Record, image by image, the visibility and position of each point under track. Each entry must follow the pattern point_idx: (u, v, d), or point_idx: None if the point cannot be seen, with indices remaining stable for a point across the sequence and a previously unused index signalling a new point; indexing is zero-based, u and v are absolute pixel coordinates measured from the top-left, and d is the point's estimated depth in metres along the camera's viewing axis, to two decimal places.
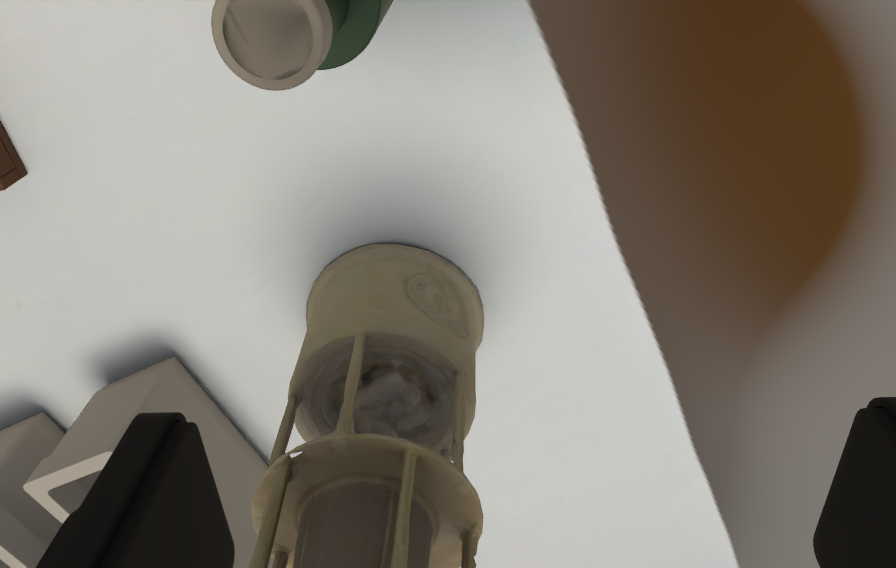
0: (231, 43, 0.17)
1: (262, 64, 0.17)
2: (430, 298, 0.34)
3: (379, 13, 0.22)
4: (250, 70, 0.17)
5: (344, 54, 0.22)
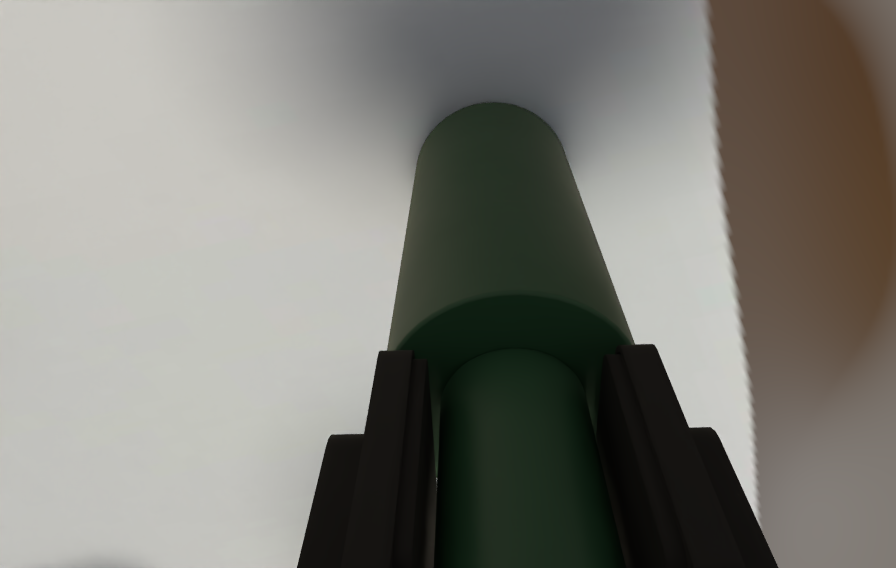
0: None
1: None
2: None
3: None
4: None
5: None
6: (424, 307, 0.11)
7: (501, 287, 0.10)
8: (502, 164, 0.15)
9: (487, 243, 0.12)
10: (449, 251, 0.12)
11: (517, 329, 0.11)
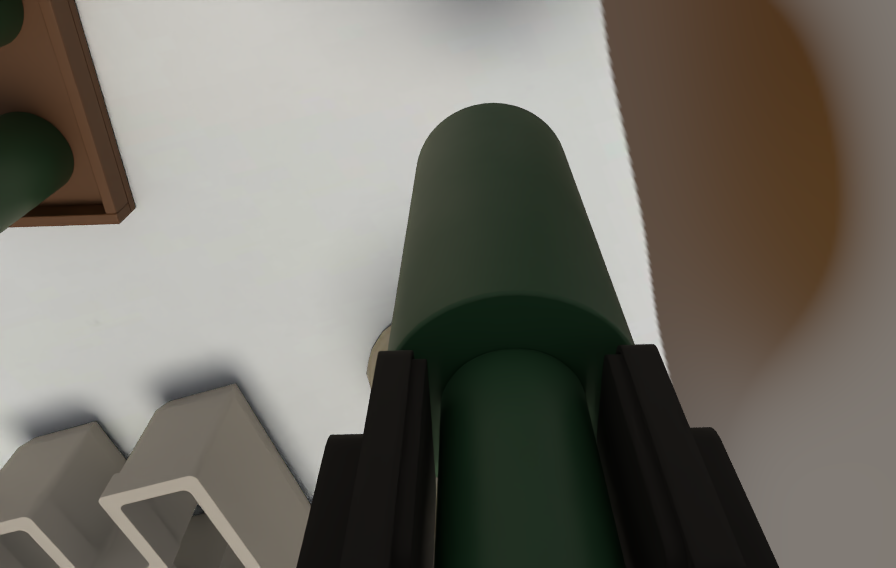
0: None
1: None
2: None
3: None
4: None
5: None
6: (424, 308, 0.11)
7: (501, 287, 0.10)
8: (502, 164, 0.15)
9: (487, 244, 0.12)
10: (449, 251, 0.12)
11: (517, 329, 0.11)
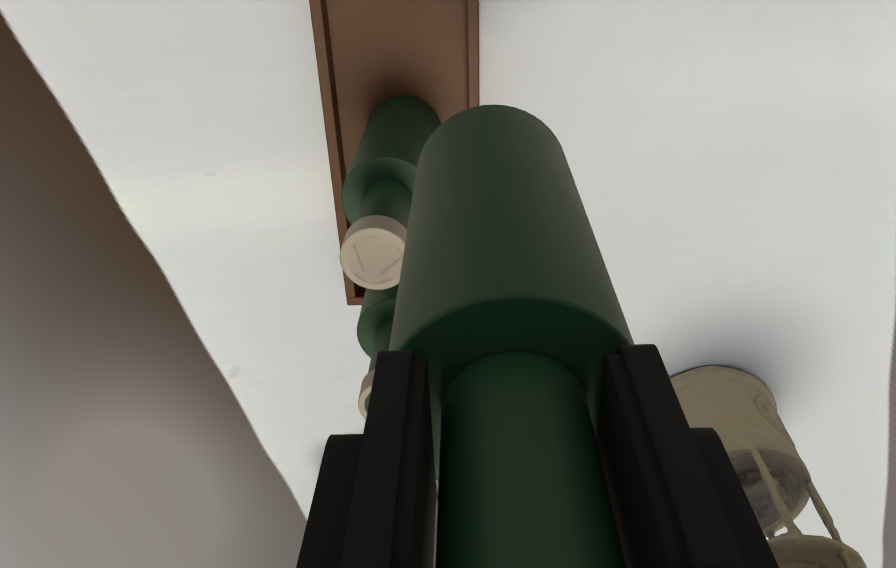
0: None
1: None
2: (776, 419, 0.46)
3: None
4: None
5: None
6: (424, 310, 0.11)
7: (503, 290, 0.10)
8: (502, 167, 0.15)
9: (488, 246, 0.12)
10: (450, 254, 0.12)
11: (518, 332, 0.11)
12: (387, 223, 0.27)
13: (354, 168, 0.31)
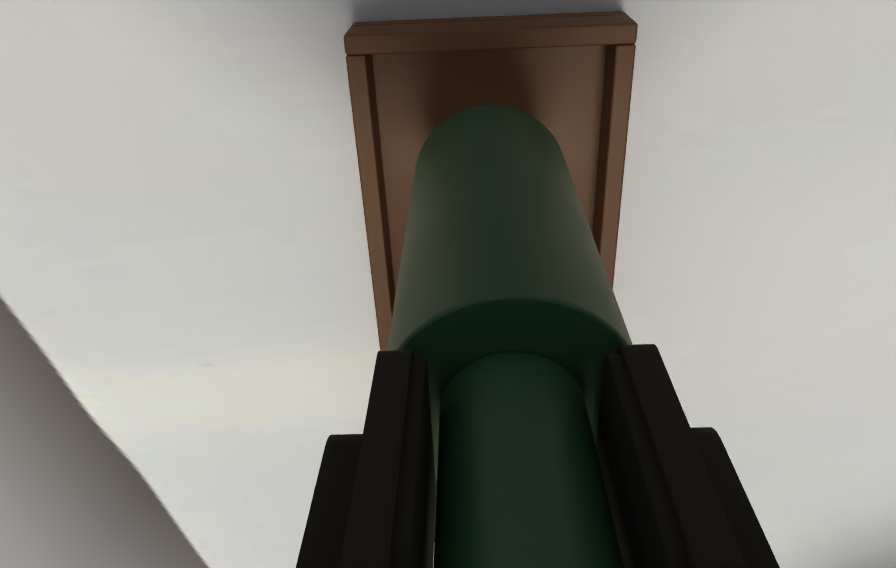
0: None
1: None
2: None
3: None
4: None
5: None
6: (423, 311, 0.11)
7: (501, 291, 0.10)
8: (501, 167, 0.15)
9: (486, 246, 0.12)
10: (448, 255, 0.12)
11: (516, 332, 0.11)
12: None
13: None
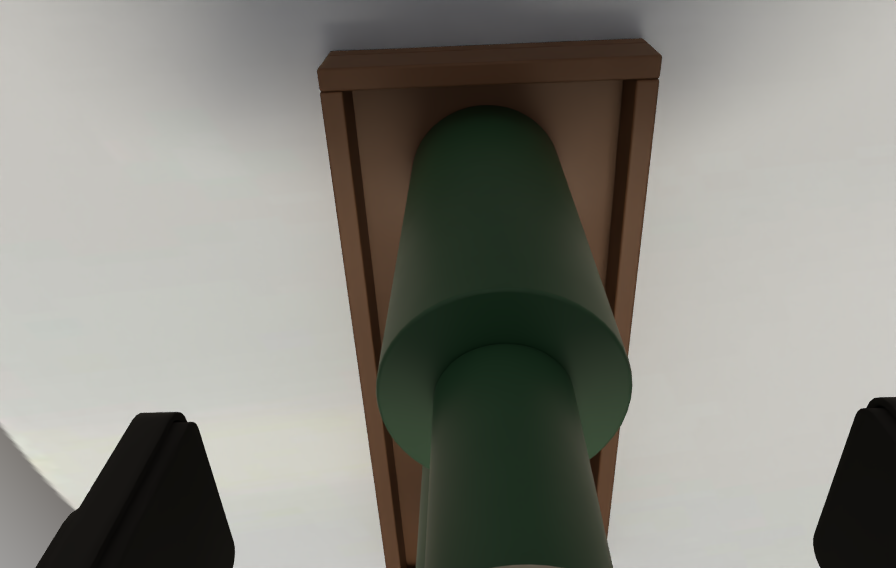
0: None
1: None
2: None
3: (617, 426, 0.12)
4: None
5: None
6: (417, 304, 0.11)
7: (492, 284, 0.11)
8: (494, 165, 0.15)
9: (479, 242, 0.12)
10: (442, 250, 0.12)
11: (507, 325, 0.11)
12: None
13: None
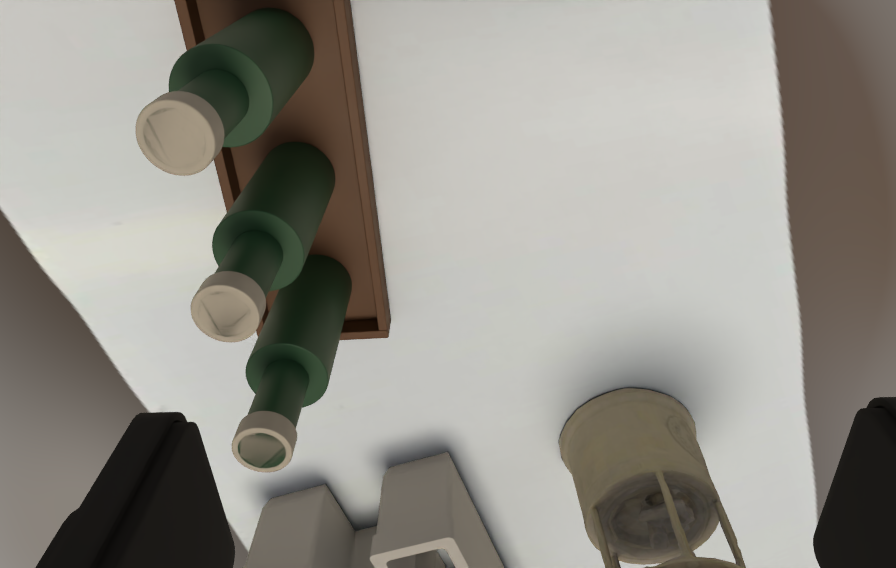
0: (149, 142, 0.24)
1: (170, 157, 0.24)
2: (687, 439, 0.47)
3: (272, 112, 0.29)
4: (161, 160, 0.25)
5: (244, 138, 0.30)
6: (181, 56, 0.28)
7: (205, 43, 0.28)
8: (244, 22, 0.32)
9: (212, 37, 0.29)
10: None
11: (213, 61, 0.28)
12: (234, 279, 0.28)
13: (221, 222, 0.32)
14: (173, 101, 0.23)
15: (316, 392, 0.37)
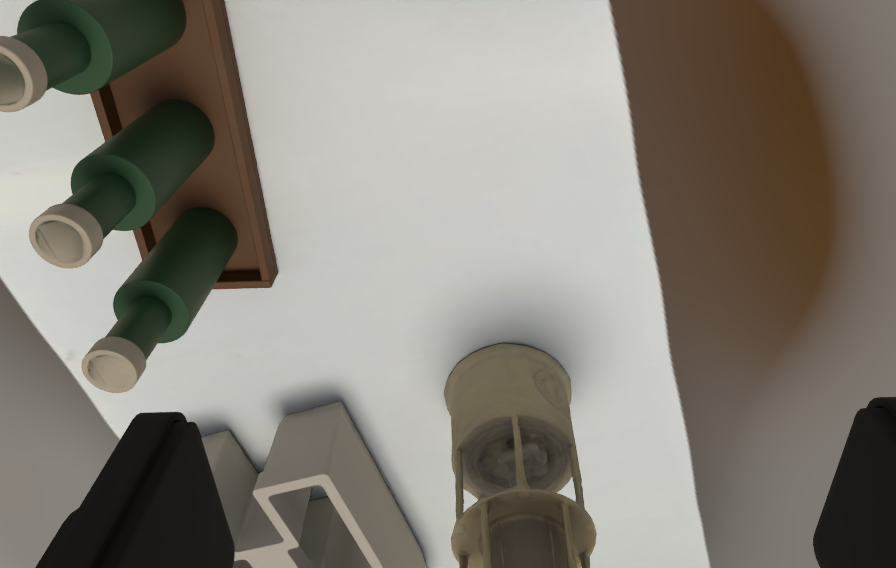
0: None
1: None
2: (551, 390, 0.50)
3: (113, 63, 0.32)
4: None
5: (90, 86, 0.33)
6: (27, 9, 0.32)
7: None
8: None
9: None
10: None
11: (55, 14, 0.31)
12: (68, 210, 0.31)
13: (77, 164, 0.35)
14: None
15: (179, 328, 0.40)
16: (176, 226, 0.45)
